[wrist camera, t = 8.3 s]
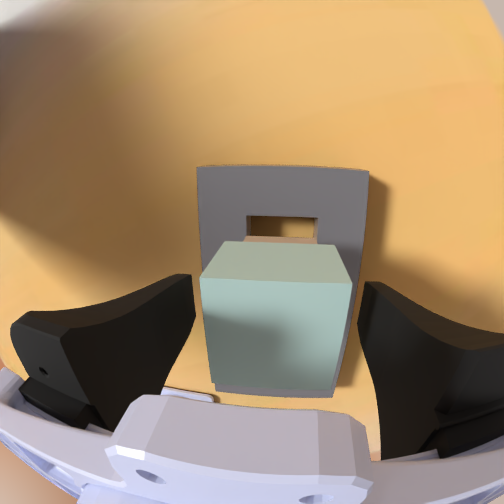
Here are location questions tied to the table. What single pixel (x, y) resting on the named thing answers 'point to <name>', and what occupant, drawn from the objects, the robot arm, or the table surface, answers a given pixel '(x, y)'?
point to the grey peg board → (292, 205)
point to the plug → (275, 312)
